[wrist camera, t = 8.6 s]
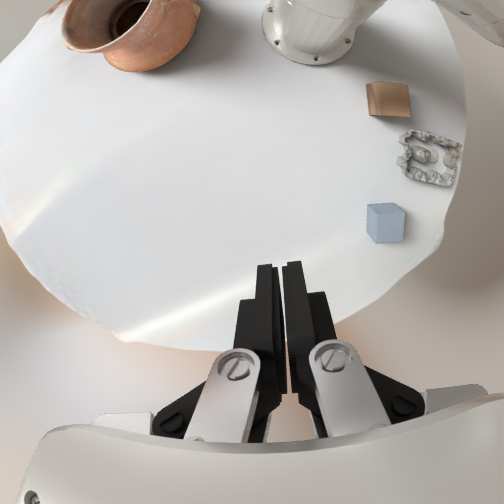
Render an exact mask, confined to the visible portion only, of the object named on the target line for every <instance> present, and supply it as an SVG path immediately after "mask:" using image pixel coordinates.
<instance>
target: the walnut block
mask: <svg viewBox="0 0 504 504" xmlns="http://www.w3.org/2000/svg"><path fill="white" fill-rule="evenodd" d="M366 90H367V99H368V108H369V115H385V116H402V117H411V116H410V104H409V94H408V85H405V84H396V83H386V82H375V83H371V84H367V85H366Z"/></svg>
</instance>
